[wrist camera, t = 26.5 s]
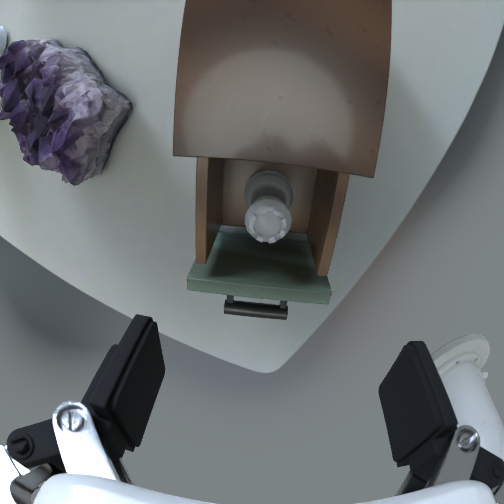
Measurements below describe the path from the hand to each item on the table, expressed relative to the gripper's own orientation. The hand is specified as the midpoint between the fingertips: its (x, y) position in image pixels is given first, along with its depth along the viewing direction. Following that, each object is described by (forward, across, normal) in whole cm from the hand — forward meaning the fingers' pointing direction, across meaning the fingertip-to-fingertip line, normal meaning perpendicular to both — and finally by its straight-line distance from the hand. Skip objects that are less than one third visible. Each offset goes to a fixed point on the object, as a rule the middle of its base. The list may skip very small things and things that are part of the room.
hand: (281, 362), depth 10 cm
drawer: (+20, +1, +1) cm, 20 cm away
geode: (+20, +24, -10) cm, 33 cm away
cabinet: (+21, +1, -12) cm, 24 cm away
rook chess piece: (+19, +1, -1) cm, 19 cm away
